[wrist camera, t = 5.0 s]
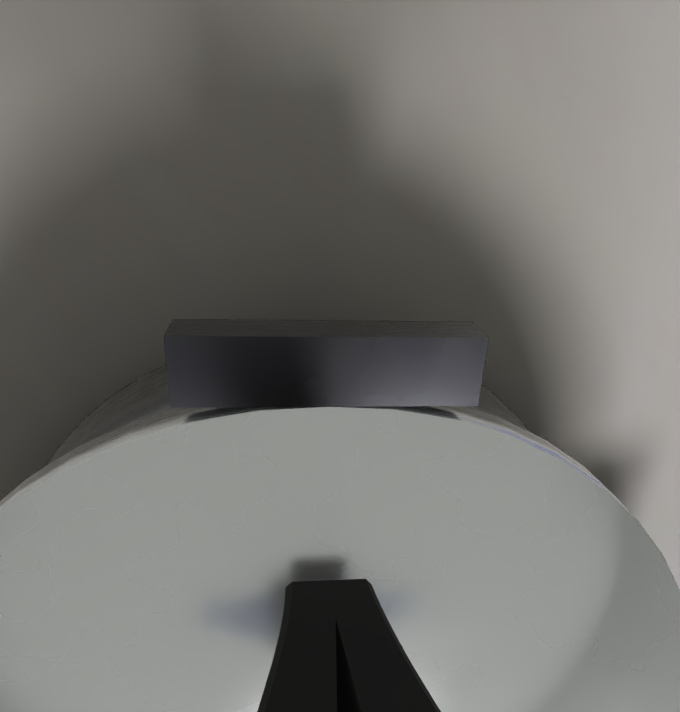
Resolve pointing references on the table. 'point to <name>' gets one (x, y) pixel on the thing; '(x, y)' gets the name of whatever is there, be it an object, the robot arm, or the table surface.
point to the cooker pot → (154, 398)
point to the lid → (328, 535)
